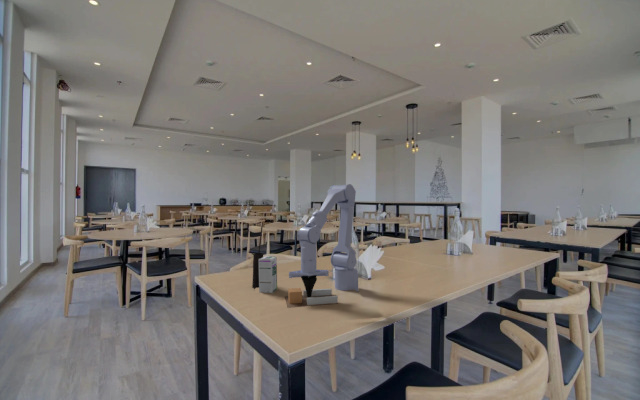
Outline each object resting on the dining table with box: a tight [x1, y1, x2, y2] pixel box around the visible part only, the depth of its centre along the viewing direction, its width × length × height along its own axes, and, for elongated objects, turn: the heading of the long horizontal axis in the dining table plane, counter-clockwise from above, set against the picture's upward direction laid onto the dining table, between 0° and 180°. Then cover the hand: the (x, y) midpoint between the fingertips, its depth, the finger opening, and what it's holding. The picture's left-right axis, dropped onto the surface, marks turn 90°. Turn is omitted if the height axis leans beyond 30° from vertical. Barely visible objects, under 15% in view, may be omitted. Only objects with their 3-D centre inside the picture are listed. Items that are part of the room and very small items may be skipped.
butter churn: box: [251, 222, 264, 289], centre depth 129 cm, size 9×10×28 cm
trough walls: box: [302, 288, 339, 305], centre depth 110 cm, size 11×10×2 cm
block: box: [287, 287, 303, 304], centre depth 108 cm, size 4×4×4 cm
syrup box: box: [258, 255, 278, 294], centre depth 121 cm, size 6×6×14 cm
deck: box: [284, 294, 339, 309], centre depth 109 cm, size 18×12×1 cm, turn 101°
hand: (308, 296), depth 109 cm, fingers closed
